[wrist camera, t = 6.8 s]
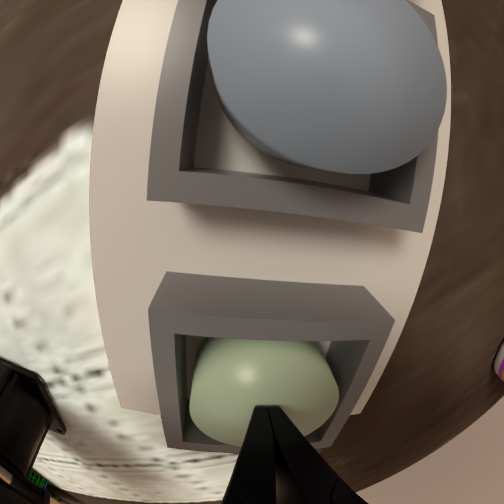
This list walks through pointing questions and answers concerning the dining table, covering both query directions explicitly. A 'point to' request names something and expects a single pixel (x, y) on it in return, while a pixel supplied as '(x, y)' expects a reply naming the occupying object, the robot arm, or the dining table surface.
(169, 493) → the dining table surface
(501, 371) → the supplement bottle
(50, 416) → the robot arm
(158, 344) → the button panel
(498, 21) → the dining table surface
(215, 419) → the sage button
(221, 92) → the slate blue button
